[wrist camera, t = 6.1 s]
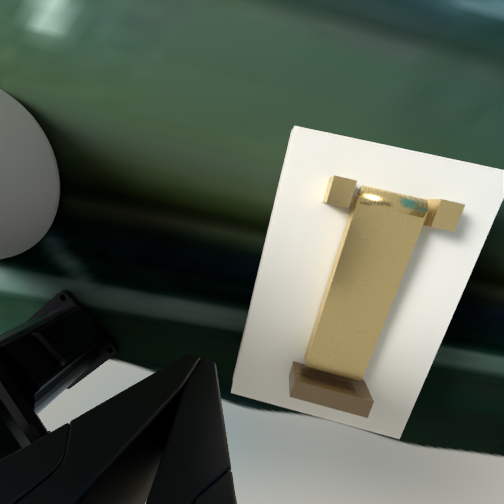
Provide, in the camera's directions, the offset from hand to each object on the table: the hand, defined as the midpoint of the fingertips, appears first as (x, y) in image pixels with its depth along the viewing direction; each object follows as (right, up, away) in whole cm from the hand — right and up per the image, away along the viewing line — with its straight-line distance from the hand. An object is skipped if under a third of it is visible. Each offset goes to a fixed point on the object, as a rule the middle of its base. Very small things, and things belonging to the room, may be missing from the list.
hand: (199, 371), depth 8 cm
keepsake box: (+7, +2, +11) cm, 13 cm away
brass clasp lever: (+7, +2, +6) cm, 9 cm away
